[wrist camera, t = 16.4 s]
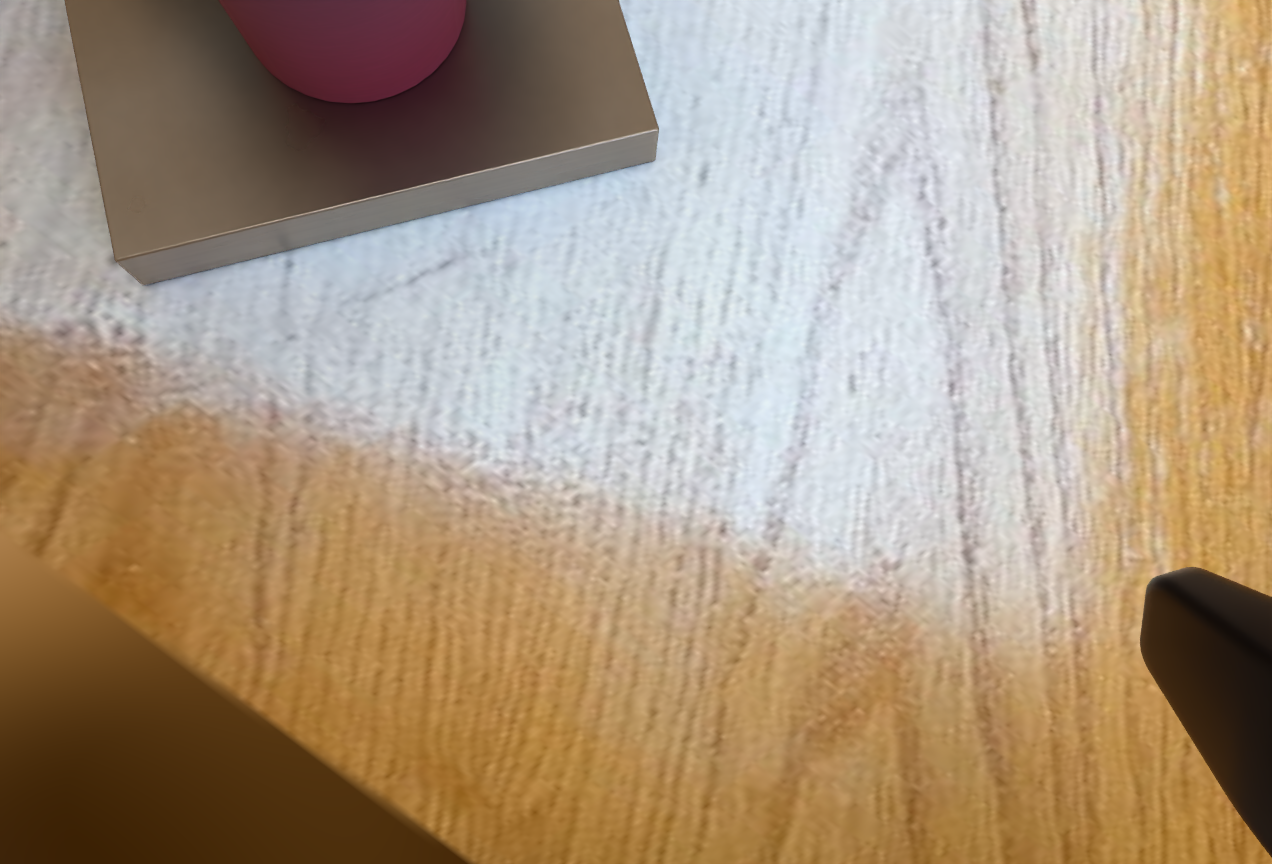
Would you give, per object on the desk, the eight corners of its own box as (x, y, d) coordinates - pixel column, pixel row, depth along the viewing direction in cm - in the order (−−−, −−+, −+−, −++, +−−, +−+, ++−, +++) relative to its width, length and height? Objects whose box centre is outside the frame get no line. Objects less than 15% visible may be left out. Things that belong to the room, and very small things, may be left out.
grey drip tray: (655, 161, 25) (659, 129, 24) (143, 286, 24) (113, 261, 23) (546, -190, 27) (544, -239, 26) (68, -90, 26) (37, -135, 25)
